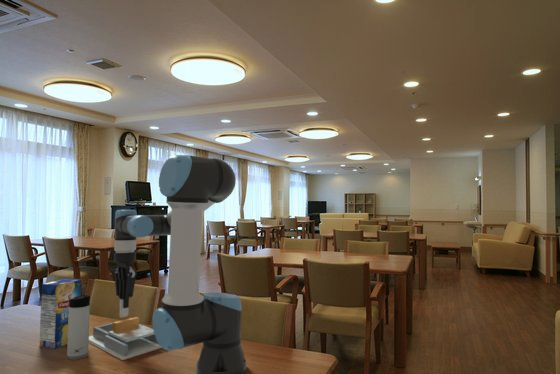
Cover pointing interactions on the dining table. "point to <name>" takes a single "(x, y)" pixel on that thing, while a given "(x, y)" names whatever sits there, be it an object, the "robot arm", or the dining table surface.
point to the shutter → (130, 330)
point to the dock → (121, 343)
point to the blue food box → (56, 311)
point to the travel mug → (78, 327)
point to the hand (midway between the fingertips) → (123, 316)
